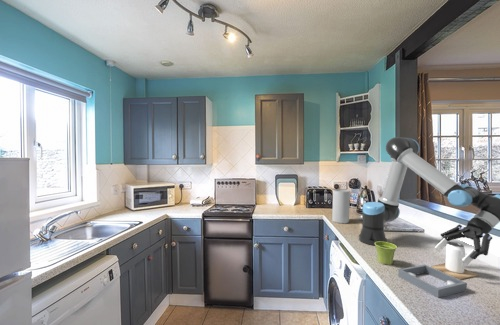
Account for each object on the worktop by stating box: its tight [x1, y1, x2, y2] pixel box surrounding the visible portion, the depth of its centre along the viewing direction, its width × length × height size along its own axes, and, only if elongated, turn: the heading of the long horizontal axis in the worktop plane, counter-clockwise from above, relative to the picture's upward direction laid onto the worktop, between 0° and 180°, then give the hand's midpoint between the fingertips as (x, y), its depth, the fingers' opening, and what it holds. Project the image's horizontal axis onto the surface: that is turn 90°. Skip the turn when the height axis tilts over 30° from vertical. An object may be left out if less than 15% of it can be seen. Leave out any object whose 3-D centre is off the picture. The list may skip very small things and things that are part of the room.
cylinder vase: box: [331, 188, 351, 224], centre depth 185 cm, size 12×12×25 cm
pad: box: [430, 263, 480, 281], centre depth 106 cm, size 12×12×1 cm
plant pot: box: [375, 241, 398, 266], centre depth 114 cm, size 9×9×9 cm
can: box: [445, 241, 466, 273], centre depth 106 cm, size 6×6×12 cm
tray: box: [397, 264, 468, 298], centre depth 95 cm, size 16×16×3 cm
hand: (449, 255), depth 106 cm, fingers open, 13 cm apart
